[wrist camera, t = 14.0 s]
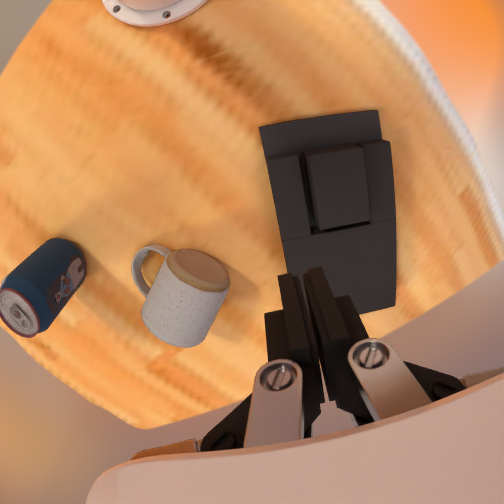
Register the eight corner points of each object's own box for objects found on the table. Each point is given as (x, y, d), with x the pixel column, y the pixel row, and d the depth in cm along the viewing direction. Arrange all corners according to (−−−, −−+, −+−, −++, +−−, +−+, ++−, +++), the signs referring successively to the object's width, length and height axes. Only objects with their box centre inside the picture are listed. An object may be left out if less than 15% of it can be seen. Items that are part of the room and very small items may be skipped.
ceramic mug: (236, 262, 35) (232, 301, 28) (208, 316, 39) (200, 359, 32) (147, 223, 34) (122, 253, 27) (128, 282, 37) (104, 319, 30)
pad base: (258, 126, 29) (259, 128, 27) (375, 110, 28) (386, 110, 26) (294, 313, 39) (297, 327, 36) (387, 293, 38) (395, 305, 35)
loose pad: (302, 150, 30) (308, 155, 26) (351, 142, 29) (363, 147, 26) (313, 217, 33) (320, 230, 29) (359, 209, 32) (370, 220, 29)
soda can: (36, 252, 35) (-17, 301, 24) (65, 223, 33) (7, 271, 22) (69, 292, 37) (25, 350, 26) (100, 267, 36) (55, 328, 25)
